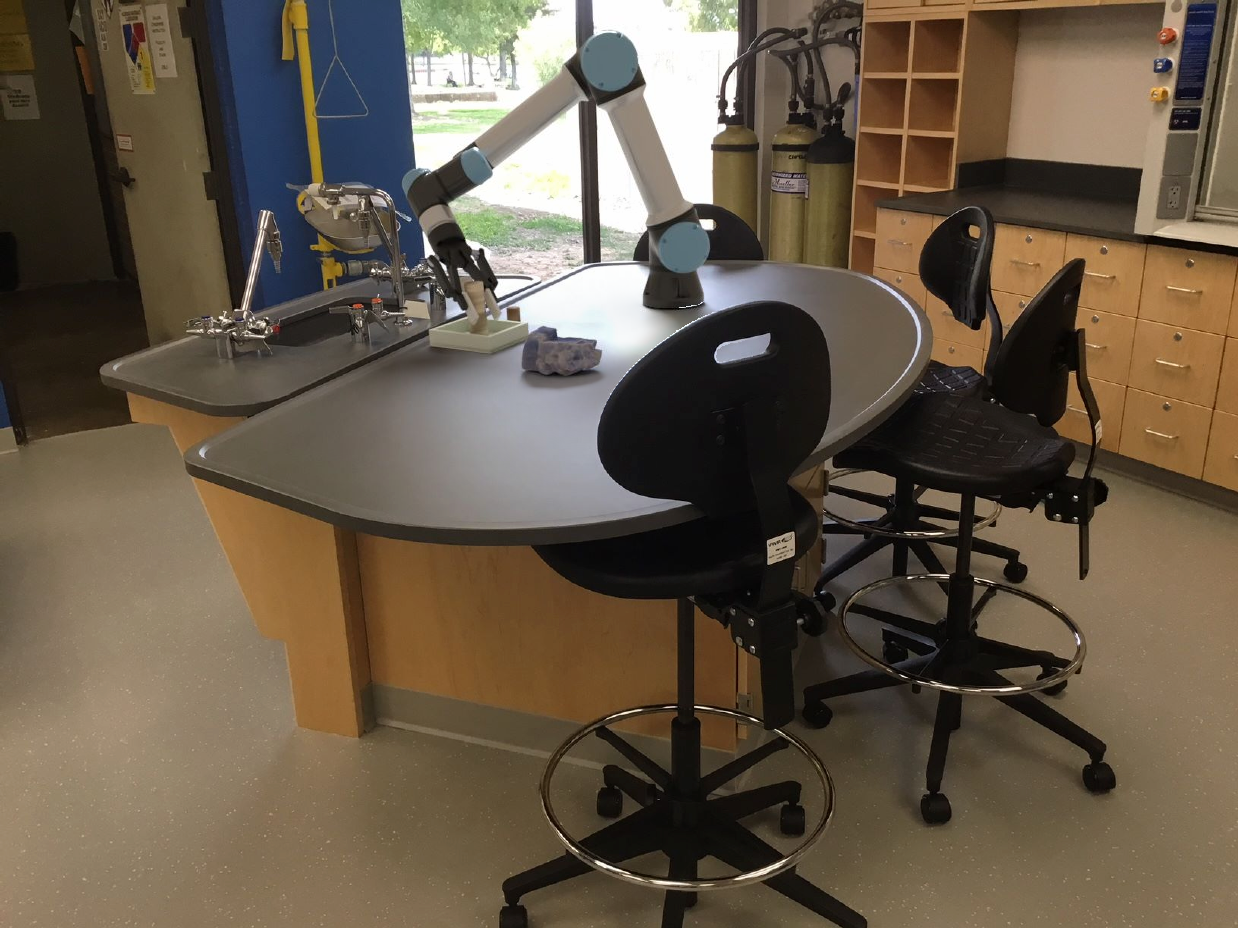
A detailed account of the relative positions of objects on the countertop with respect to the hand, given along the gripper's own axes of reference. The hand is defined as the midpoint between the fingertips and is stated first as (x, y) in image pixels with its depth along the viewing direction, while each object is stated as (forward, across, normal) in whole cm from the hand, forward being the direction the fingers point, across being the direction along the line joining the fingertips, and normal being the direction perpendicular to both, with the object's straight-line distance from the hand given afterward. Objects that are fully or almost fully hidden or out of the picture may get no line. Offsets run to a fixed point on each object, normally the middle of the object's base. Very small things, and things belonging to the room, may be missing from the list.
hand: (486, 318), depth 214 cm
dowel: (+1, 0, -6) cm, 6 cm away
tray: (+1, 0, -7) cm, 7 cm away
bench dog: (-2, -12, -10) cm, 15 cm away
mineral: (+24, 0, +15) cm, 28 cm away
